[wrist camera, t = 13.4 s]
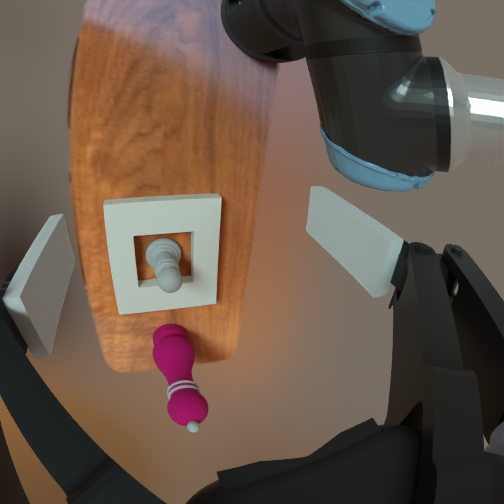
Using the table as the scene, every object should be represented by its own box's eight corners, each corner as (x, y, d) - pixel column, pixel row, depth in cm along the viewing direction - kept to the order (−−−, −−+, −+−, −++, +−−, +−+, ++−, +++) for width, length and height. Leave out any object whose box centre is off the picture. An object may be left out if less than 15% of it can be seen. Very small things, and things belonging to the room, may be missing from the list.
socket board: (104, 200, 36) (103, 204, 34) (218, 193, 42) (221, 197, 40) (119, 306, 44) (119, 314, 43) (213, 296, 50) (216, 303, 48)
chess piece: (167, 230, 42) (176, 261, 34) (187, 255, 45) (199, 289, 37) (138, 250, 41) (140, 285, 34) (159, 274, 44) (166, 311, 37)
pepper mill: (150, 321, 48) (169, 422, 32) (190, 320, 51) (223, 415, 35) (149, 350, 51) (169, 444, 35) (187, 349, 54) (216, 438, 38)
